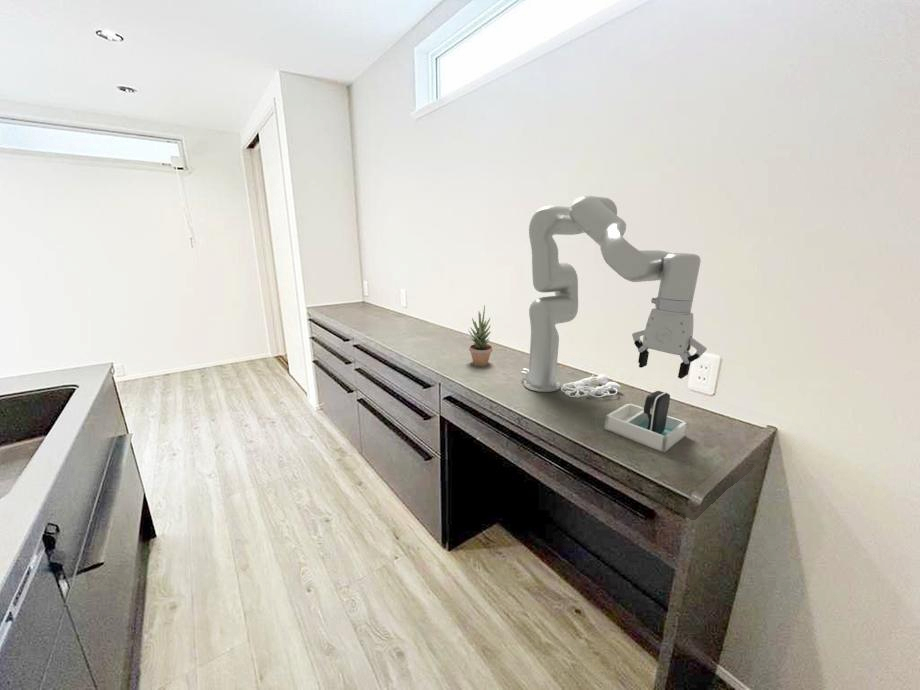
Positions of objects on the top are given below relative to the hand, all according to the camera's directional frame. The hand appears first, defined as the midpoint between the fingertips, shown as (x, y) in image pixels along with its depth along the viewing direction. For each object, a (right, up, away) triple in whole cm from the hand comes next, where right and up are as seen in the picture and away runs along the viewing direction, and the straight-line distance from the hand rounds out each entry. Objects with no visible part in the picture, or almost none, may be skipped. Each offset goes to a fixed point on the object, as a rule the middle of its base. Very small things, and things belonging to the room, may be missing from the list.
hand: (661, 371), depth 98 cm
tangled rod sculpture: (-6, -10, +34) cm, 36 cm away
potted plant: (-43, -1, +62) cm, 76 cm away
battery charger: (0, -17, +5) cm, 18 cm away
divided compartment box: (-1, -17, +6) cm, 18 cm away
